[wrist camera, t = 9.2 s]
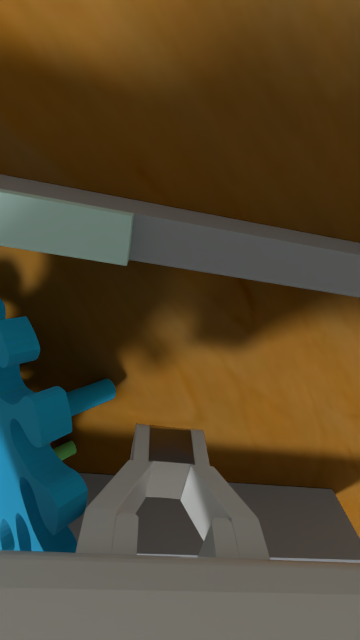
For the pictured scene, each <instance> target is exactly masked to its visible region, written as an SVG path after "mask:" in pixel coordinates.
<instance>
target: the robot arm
mask: <svg viewBox="0 0 360 640" xmlns="http://www.w3.org/2000/svg"><path fill="white" fill-rule="evenodd" d="M145 497H161V498H173V499H181V500H180V501H181V502H182V504H183V506H184V508H185V509H186V511H187V513H188V515H189V516H190V518H191V520H192V522H193V523H194V525H195V527H196V529H197V530H198V532H199V534H200V536H201V537H202V539H203V541H204V542H203V545H202V547H201V550H200V552H199V555H198V557H180V556H153V555H137V539H138V519H139V517H138V516H137V515H136V512H137V510H138V509H139V507H140V506H141V504H142V503H143V501H144V499H145ZM0 640H360V563H348V562H320V561H292V560H270V557H269V554H268V550H267V547H266V543H265V540H264V536H263V533H262V529H261V526H260V523H259V519H258V518H257V517H256V515H255V514H254V513H253V512H252V511H251V510H250V508H249V507H248V506H247V505H246V504H245V503H244V501H243V500H242V499H241V498H240V497H239V496H238V494H237V493H236V492H235V491H234V490H233V489H232V487H231V486H230V485H229V484H228V483H227V482H226V480H225V479H224V478H223V477H222V476H221V475H220V473H219V472H218V471H217V470H216V469H215V468H214V467H213V466H210V464H209V458H208V453H207V447H206V442H205V436H204V432H203V430H197V429H185V428H173V427H163V426H155V425H144V424H136V427H135V432H134V438H133V444H132V450H131V457H130V460H128V461H127V462H126V463H125V465H124V466H123V467H122V468H121V469H120V470H119V471H118V473H117V474H116V475H115V476H114V477H113V478H112V479H111V480H110V482H109V483H108V484H107V485H106V486H105V487H104V488H103V490H102V491H101V492H100V493H99V494H98V495H97V496H96V498H95V499H94V500H93V501H92V502H91V503H90V504H89V505H88V507H87V508H86V509H85V514H84V518H83V522H82V527H81V531H80V535H79V540H78V544H77V548H76V553H70V552H43V551H15V550H0Z"/></svg>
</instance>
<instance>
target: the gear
mask: <svg viewBox="0 0 360 640" xmlns="http://www.w3.org/2000/svg"><path fill="white" fill-rule="evenodd" d="M5 315H6V313H5V305H4V303H3V301H2V300H1V299H0V550H15V551H43V552H70V553H76V548H77V544H78V543H77V541H76V539H75V537H74V535H73V533H72V531H71V530H70V528H69V527H68V525H69V524H70V523H72V522H73V521H74V520H76V519H77V518H79V517H80V516H81V515H82V514H83V513H84V511H85V508H86V504H87V496H88V488H87V486H86V484H85V482H84V480H83V478H82V477H81V476H80V475H79V473H78V472H76V471H75V470H74V469H72V468H70V467H68V466H67V465H66V464H64V463H63V462H62V461H63V460H64V459H66V458H68V457H70V456H72V455H74V454H75V453H76V446H75V444H74V442H73V441H71V440H70V441H68V442H66V443H64V444H62V445H60V446H58V447H56V448H54V449H52V447H51V446H50V443H51V442H52V441H54V440H57V439H59V438H61V437H63V436H65V435H67V434H69V433H71V432H72V419H71V417H72V416H74V415H76V414H79V413H81V412H83V411H86V410H88V409H90V408H93V407H95V406H97V405H100V404H102V403H104V402H107V401H109V400H111V399H113V398H114V397H115V395H116V390H115V386H114V384H113V382H112V381H111V380H110V379H104V380H101V381H98V382H95V383H92V384H90V385H87V386H84V387H81V388H78V389H75V390H73V391H70V392H67V393H66V391H65V390H64V389H63V388H61V387H59V386H55V387H52V388H49V389H46V390H43V391H40V392H37V393H35V392H33V391H32V390H30V389H29V388H27V387H26V385H25V384H24V382H23V380H22V378H21V374H20V368H19V364H22V363H26V362H30V361H34V360H36V359H37V358H38V357H39V354H40V345H39V342H38V339H37V337H36V334H35V332H34V330H33V328H32V326H31V324H30V322H29V320H28V318H27V316H25V317H17V318H10V319H5Z"/></svg>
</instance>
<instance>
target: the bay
mask: <svg viewBox="0 0 360 640" xmlns="http://www.w3.org/2000/svg"><path fill="white" fill-rule="evenodd" d="M0 246H6V247H12V248H18V249H24V250H31V251H37V252H43V253H49V254H56V255H62V256H68V257H74V258H80V259H87V260H93V261H99V262H105V263H112V264H118V265H124V266H127V263H128V261H129V260H133V261H139V262H145V263H151V264H157V265H163V266H170V267H176V268H182V269H188V270H194V271H200V272H206V273H212V274H218V275H225V276H231V277H237V278H243V279H249V280H255V281H261V282H267V283H273V284H280V285H286V286H292V287H298V288H304V289H310V290H316V291H322V292H329V293H335V294H341V295H347V296H353V297H359V298H360V243H357V242H352V241H347V240H342V239H336V238H331V237H326V236H321V235H316V234H310V233H305V232H300V231H295V230H289V229H284V228H279V227H274V226H269V225H263V224H258V223H253V222H248V221H242V220H237V219H232V218H227V217H222V216H216V215H211V214H206V213H201V212H195V211H190V210H185V209H180V208H175V207H169V206H164V205H159V204H154V203H148V202H143V201H138V200H133V199H128V198H122V197H117V196H112V195H107V194H101V193H96V192H91V191H86V190H81V189H75V188H70V187H65V186H60V185H54V184H49V183H44V182H39V181H34V180H28V179H23V178H18V177H13V176H7V175H2V174H0ZM79 475H80V476H81V477H82V478H83V480H84V482H85V484H86V486H87V488H88V496H87V504H86V508H87V507H88V505H89V504H90V503H91V502H92V501H93V500H94V499H95V498H96V496H97V495H98V494H99V493H100V492H101V491H102V490H103V488H104V487H105V486H106V485H107V484H108V483H109V482H110V480H111V479H112V478H113V477H114V476H115V475H105V474H89V473H79ZM227 483H228V482H227ZM228 484H229V485H230V486H231V487H232V489H233V490H234V491H235V492H236V493H237V494H238V496H239V497H240V498H241V499H242V500H243V501H244V503H245V504H246V505H247V506H248V507H249V508H250V510H251V511H252V512H253V513H254V514H255V515H256V517H257V518H258V519H259V523H260V526H261V529H262V533H263V536H264V540H265V543H266V547H267V550H268V554H269V557H270V560H292V561H320V562H348V563H360V539H359V537H358V535H357V533H356V531H355V530H354V528H353V526H352V524H351V522H350V521H349V519H348V517H347V515H346V513H345V512H344V510H343V508H342V506H341V504H340V502H339V501H338V499H337V497H336V495H335V493H334V492H333V490H332V489H321V488H306V487H290V486H275V485H259V484H244V483H228ZM180 500H181V499H173V498H161V497H145V499H144V501H143V503H142V504H141V506H140V507H139V509H138V510H137V512H136V515H137V516H138V517H139V519H138V539H137V555H153V556H180V557H198V555H199V552H200V550H201V547H202V545H203V542H204V541H203V539H202V537H201V536H200V534H199V532H198V530H197V529H196V527H195V525H194V523H193V522H192V520H191V518H190V516H189V515H188V513H187V511H186V509H185V508H184V506H183V504H182V502H181V501H180ZM86 508H85V509H86ZM84 514H85V511H84V513H83V514H82V515H81V516H80V517H79V518H77V519H76V520H74V521H73V522H72V523H70V524H69V525H68V527H69V528H70V530H71V531H72V533H73V535H74V537H75V539H76V541H77V543H78V540H79V535H80V531H81V527H82V522H83V518H84Z"/></svg>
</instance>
